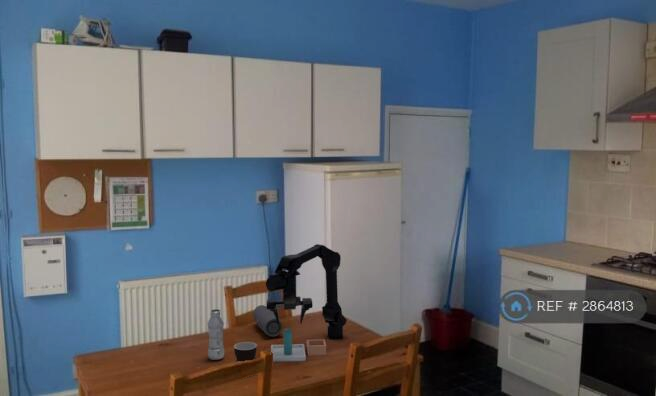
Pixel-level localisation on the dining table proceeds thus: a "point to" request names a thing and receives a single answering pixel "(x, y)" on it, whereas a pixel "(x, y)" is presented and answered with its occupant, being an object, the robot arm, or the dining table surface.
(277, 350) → the grey tray
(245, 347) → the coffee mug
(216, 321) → the plastic bottle
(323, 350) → the pin cup
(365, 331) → the dining table surface
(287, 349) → the dowel pin
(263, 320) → the bluetooth speaker
